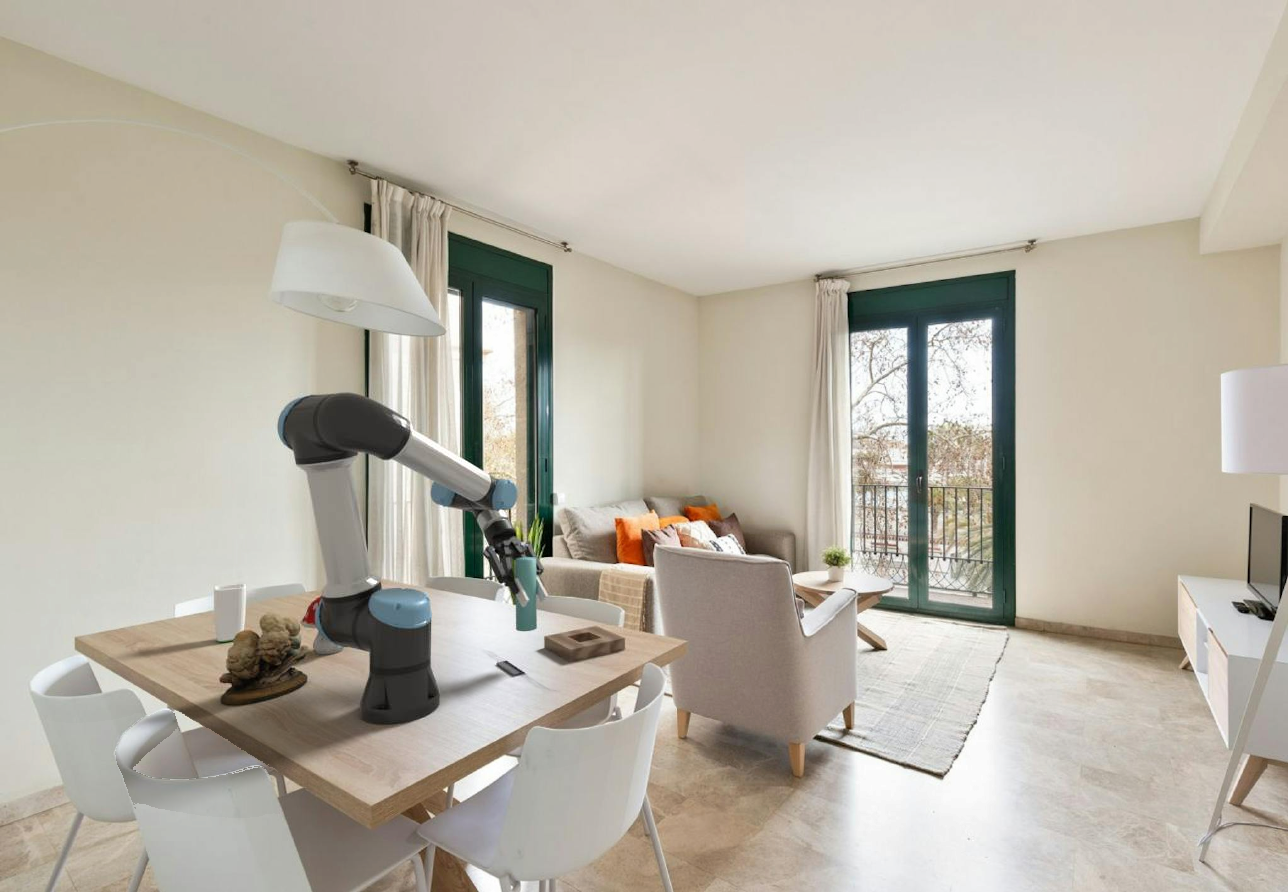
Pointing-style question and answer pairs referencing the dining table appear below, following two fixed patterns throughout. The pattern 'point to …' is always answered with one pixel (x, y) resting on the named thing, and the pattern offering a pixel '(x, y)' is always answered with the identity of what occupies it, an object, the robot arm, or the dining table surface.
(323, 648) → the decorative mushroom
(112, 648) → the dining table surface
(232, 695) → the brown lumpy sculpture
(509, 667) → the charcoal mat
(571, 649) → the walnut holder
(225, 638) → the cup
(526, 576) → the teal peg
